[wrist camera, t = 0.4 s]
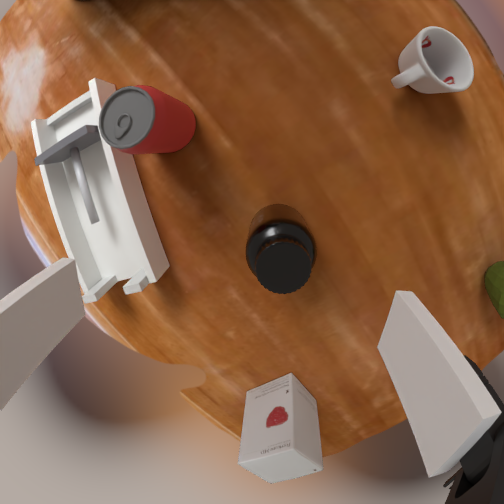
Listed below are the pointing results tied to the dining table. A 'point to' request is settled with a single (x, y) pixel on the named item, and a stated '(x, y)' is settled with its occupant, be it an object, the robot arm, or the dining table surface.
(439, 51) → the cup
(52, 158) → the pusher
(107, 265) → the white open tray
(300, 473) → the supplement box
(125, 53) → the dining table surface
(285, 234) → the supplement bottle
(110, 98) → the beer can
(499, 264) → the green rounded oval
